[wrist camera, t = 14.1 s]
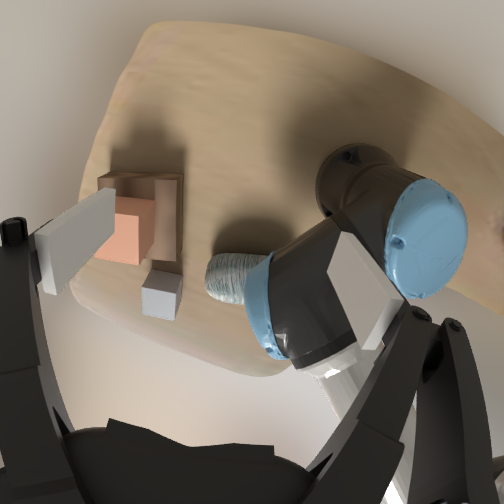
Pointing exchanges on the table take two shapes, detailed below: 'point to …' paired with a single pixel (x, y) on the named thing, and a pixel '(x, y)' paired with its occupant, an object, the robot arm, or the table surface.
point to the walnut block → (166, 206)
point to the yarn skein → (229, 275)
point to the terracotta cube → (130, 231)
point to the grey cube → (161, 294)
